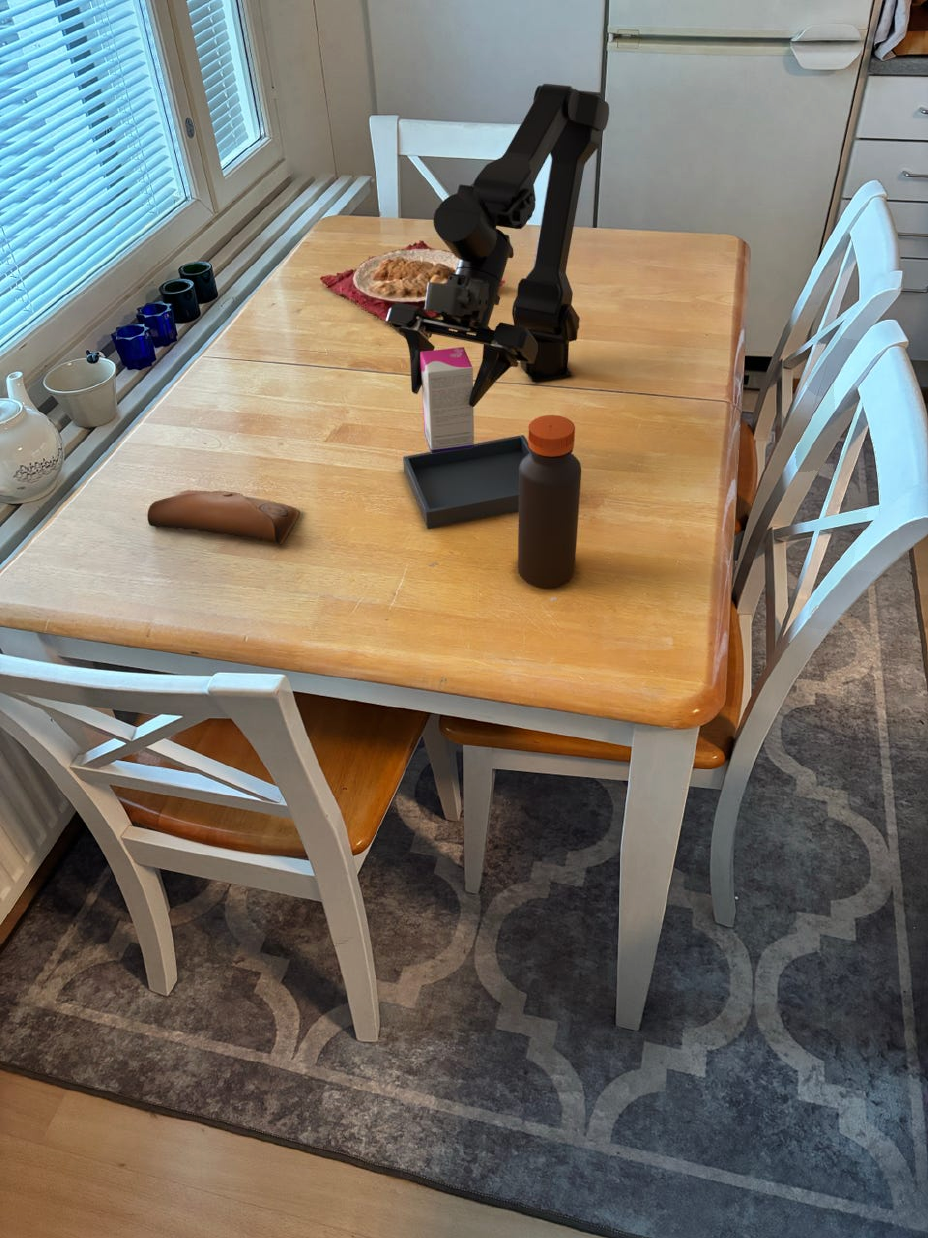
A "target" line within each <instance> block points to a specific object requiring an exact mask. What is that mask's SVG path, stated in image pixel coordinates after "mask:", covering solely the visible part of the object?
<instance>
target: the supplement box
mask: <svg viewBox="0 0 928 1238" xmlns="http://www.w3.org/2000/svg"><path fill="white" fill-rule="evenodd" d="M420 359H421V378H422V386H421V394H422V413H423V414H422V415H423V416H422V417H423V432H424V437H425V439H426V442H427V445H428V448H429V452H431V453H432V454H433V453H441V452H447V451H455V450H462V449H469V448H473V447H474V444H475V426H474V425H475V419H474V417H475V416H474V413H475V412H474V410H475V409H474V407H471V406H470V405H469V400H470V396H471V392H472V389H473V386H474V372H473V371H474V369H473V368H474V367H473V365H472V363H471V361H470V358H469V356H468V354H467V352H466V350H465V347H464V346H462V347H461V346H459V347H453V348H443V349H434V350H433V351H423V352H420Z"/></svg>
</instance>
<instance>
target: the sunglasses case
mask: <svg viewBox="0 0 928 1238" xmlns="http://www.w3.org/2000/svg"><path fill="white" fill-rule="evenodd" d="M300 514H301V511H300V509H299V508H296V507H293V506H291V505H288V504H285V503H281V502H277V501H272V500H268V499H262V498H257V497H250V496H244V495H243V493H241V492H234V491H229V490H211V491H210V490H198V489H195V490H194V489H186V490H183V491H180V492H179V493H178V494H175V495H174V496H170V497H166V498H163V499H159V500H155V501H154V502H152V503H151V504H150V505H149V506H148V509H147V516H146V518H147V523H148V525H149V526H151V527H153V528H164V529H175V530H180V529H181V530H185V531H198V532H205V533H209V534H217V535H226V536H231V537H236V538H243V539H250V540H255V541H256V540H257V541H261V542H267V543H277V544H279V545H283V544H284V543H285V541H286V540H287V538H288V537H289V536H290V533H292V531H293V528H294V527H295V524H296V522H297V521H298V519H299V517H300Z"/></svg>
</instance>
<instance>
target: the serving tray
mask: <svg viewBox="0 0 928 1238" xmlns="http://www.w3.org/2000/svg"><path fill="white" fill-rule="evenodd" d="M529 453H530V451H529V444H528V439H527V438H526V436H525V434H521V435H516V436H510V437H505V438H498V439H494V440H488V441H483V442H477V443H476V442H475V443H474V447H473V448H469V449H462V450H455V451H447V452H441V453H433V454H432V453H431V451H427V452H422V453H416V454H411V455H404V456H402V462H403V463H402V464H403V473H404V476H405V478H406V481H407V483H408V485H409V489H410V491H411V492H412V495H413V497H414V500H415V503H416V505H417V507H418V509H419V512H420V514H421V517H422V519H423V522H424V525H425V527H426V530H429V529H434V528H440V527H444V526H449V525H454V524H460V523H465V522H470V521H475V520H480V519H486V518H491V517H497V516H501V515H506V514H510V513H511V514H512V513H516V512H519V466H520V464H521V461H522V459H523V458H524V457H525V456H526V455H528V454H529Z"/></svg>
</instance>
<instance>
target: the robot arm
mask: <svg viewBox="0 0 928 1238" xmlns="http://www.w3.org/2000/svg"><path fill="white" fill-rule="evenodd" d="M609 117H610V104H609V103H608V102H607V101H606V100H605V99H604V97H603V94H602V93H601V92H600V91H589V90H579V89H577V88H573V87H572V86H571V85H565V84H564V85H563V84H553V83H543V84H542V85H537V87H536V89H535V92H534V95H533V101H532V104H531V106H530V108H529V109H528V111H527V113H526V115H525V116H524V118H523V119H522V122H521V124H520V125H519V127H518V129H517V130H516V132H515V134H514V136H513V137H512V140H511V141H510V143H509V145H508V146H507V149H506V150H505V152H504V153H503V155H502V156H501V157H499V158H497V159H495V160H493V161H491V162H489V163H487V164H486V165H485V166H484V167H483V169H482V170H481V171H480V172H479V173H478V175H477V176H476V177H475V179H474V181H473V182H472V183H471V184H469V185H467V184H461V183H460V184H459V185H458V188H457V192H456V193H454V194H451V195H449V196H448V197H446V198H445V199H444V200H443V201H441V203H440V204H439V206H438V207H437V208H435V211H434V214H433V227H434V230H435V232H436V234H437V236H438V237H439V238H440V239H441V241H442V242H443V243H444V244H445V245H446V246H447V248H448V249H449V251H450V252H453V254H454V255H455V256H456V257H457V258H458V259H460V260H459V263H458V267H457V270H456V273H455V274H453V273H451V274H450V276H449V277H448V280H447V283H446V284H443V283H433V282H428V286H427V294H426V301H425V308H424V309H425V310H427V311H434V310H435V311H434V312H435V313H436V314H437V315H436V316H438V317H441V319H440V318H439V319H438V318H434V317H430V316H429V315H428V314H427V313H426V312H425V311H424V310H423V309H422V308H421V307H418V306H413V305H408V304H403V303H395V304H394V305H393V306H392V307H391V308H390V309H389V311H388V315H387V318H386V321H385V323H386V324H387V325H388V326H390V327H391V328H392V329H393V330H394V331H395V332H397V333H398V334H399V335H400V336H402V337H403V338H404V339H405V341H406V344H407V347H408V353H409V363H410V365H409V366H410V383H411V385H410V386H411V387H410V388H411V392H412V393H413V394H414V395H418V393H419V392H420V390H421V389H422V378H421V359H420V352H423V351H433V350H435V347H436V346H435V345H434V344H432V342H431V341H429V340H430V339H431V338H432V336H433V335H435V336H440V337H444V338H450V339H454V340H459V341H464V342H469V343H475V344H479V345H483V346H482V347H483V348H482V359H481V364H480V366H479V369H478V372H477V374H476V377H475V381H474V382H473V389H472V392H471V396H470V400H469V405H470V406H471V407H473V408H474V407H476V406H477V404H478V403H479V402H480V401H481V400H482V398H483V397H484V396H485V395H486V393H487V392H488V391H489V390H490V389H491V388H492V386H493V385H494V384H495V383H496V382H497V381H498V380H499V379H500V378H501V377H502V376H503V375H504V374H505V373H506V372H508V370H510V368H512V367H513V368H518V367H519V363H520V367H521V370H522V371H523V372H524V373H525V374H526V375H527V376H528V378H529V379H530V381H531V382H532V383H539V382H540V383H541V382H545V381H552V380H558V379H563V378H569V377H571V376H572V374H573V373H572V371H571V370H570V368H569V354H570V353H569V352H570V351H569V350H570V342H575V341H577V340H578V332H579V329H580V320H581V319H580V316H579V314H578V312H577V311H576V310H575V308H574V307H573V305H572V302H573V295H574V293H573V292H574V291H573V290H572V286H571V284H570V281H569V278H568V276H567V267H568V262H569V261H568V260H569V257H570V256H569V254H570V249H571V244H572V237H573V233H574V227H575V226H574V225H575V221H576V215H577V209H578V204H579V199H580V193H581V188H582V183H583V175H584V170H585V165H586V163H588V161H589V160H590V158H591V157H592V156H593V155H594V153H595V152H596V151H597V149H598V148H599V147H600V145H601V142H602V141H601V140H602V136H603V132H604V131H605V130H606V128H607V125H608V122H609ZM549 156H550V158H551V161H550V166H549V172H548V178H547V184H546V191H545V196H544V203H543V208H542V213H541V222H540V228H539V233H538V238H537V239H538V240H537V245H536V253H535V258H534V262H533V263H534V264H533V267H532V269H531V270H530V271H529V273H528V274H527V275H526V277H525V278H523V277H522V278H521V279H520V280H519V282H518V283H517V293H516V297H515V299H514V301H513V304H512V310H511V316H512V321H513V324H511V323H506V322H499V323H498V324H497V325H495V328H494V329H492V328H491V327H490V326H489V325H490V321H491V317H492V314H493V310H494V308H495V306H499V304H500V301H501V296H500V295H499V291H500V288H501V287H500V284H501V281H503V276H504V273H505V270H506V268H507V264H508V260H509V259H513V257H514V252H515V251H514V247H513V245H512V243H511V241H510V235H508V234H505V233H504V232H503V231H502V230H500V229H499V228H497V227H501V228H507V229H514V230H522V229H523V228H524V227H525V226H526V224H527V223H528V221H530V220H531V218H532V217H533V213H534V211H535V209H536V200H537V197H536V191H535V182H536V180H537V178H538V177H539V174H540V172H541V170H542V169H543V167H544V165H545V164H546V162H547V160H548V158H549Z"/></svg>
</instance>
